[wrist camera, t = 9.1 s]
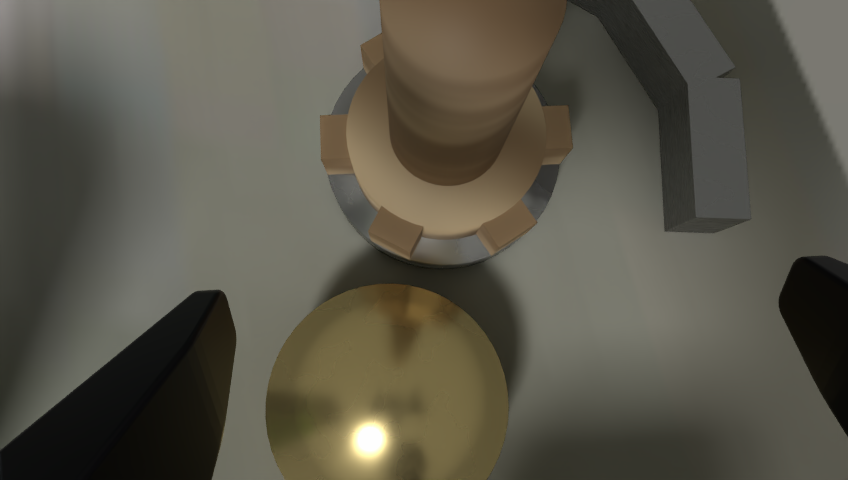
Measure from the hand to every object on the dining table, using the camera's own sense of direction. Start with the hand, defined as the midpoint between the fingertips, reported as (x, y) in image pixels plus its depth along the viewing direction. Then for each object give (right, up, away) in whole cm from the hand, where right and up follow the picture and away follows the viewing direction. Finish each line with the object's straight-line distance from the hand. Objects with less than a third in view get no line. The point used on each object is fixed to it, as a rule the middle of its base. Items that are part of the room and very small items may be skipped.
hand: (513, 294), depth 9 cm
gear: (-1, +4, +13) cm, 14 cm away
